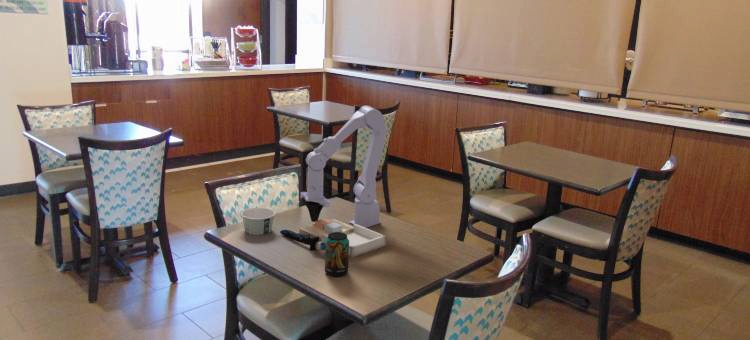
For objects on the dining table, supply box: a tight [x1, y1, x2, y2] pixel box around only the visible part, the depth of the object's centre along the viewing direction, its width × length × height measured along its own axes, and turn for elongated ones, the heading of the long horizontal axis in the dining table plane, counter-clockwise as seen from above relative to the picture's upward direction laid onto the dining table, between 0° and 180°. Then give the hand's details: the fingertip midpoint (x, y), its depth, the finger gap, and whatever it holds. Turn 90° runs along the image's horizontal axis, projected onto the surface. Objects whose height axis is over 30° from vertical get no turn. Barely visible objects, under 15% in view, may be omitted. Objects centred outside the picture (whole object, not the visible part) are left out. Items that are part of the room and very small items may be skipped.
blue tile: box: [324, 222, 342, 233], centre depth 199 cm, size 4×4×2 cm
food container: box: [240, 207, 276, 236], centre depth 201 cm, size 12×12×6 cm
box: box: [321, 224, 387, 258], centre depth 192 cm, size 16×15×4 cm
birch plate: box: [298, 218, 354, 242], centre depth 201 cm, size 16×12×2 cm
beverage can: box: [324, 232, 350, 278], centre depth 169 cm, size 7×7×12 cm
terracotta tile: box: [314, 217, 333, 230], centre depth 202 cm, size 4×4×2 cm
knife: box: [279, 229, 326, 251], centre depth 188 cm, size 31×3×4 cm, turn 43°
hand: (314, 221), depth 206 cm, fingers closed
